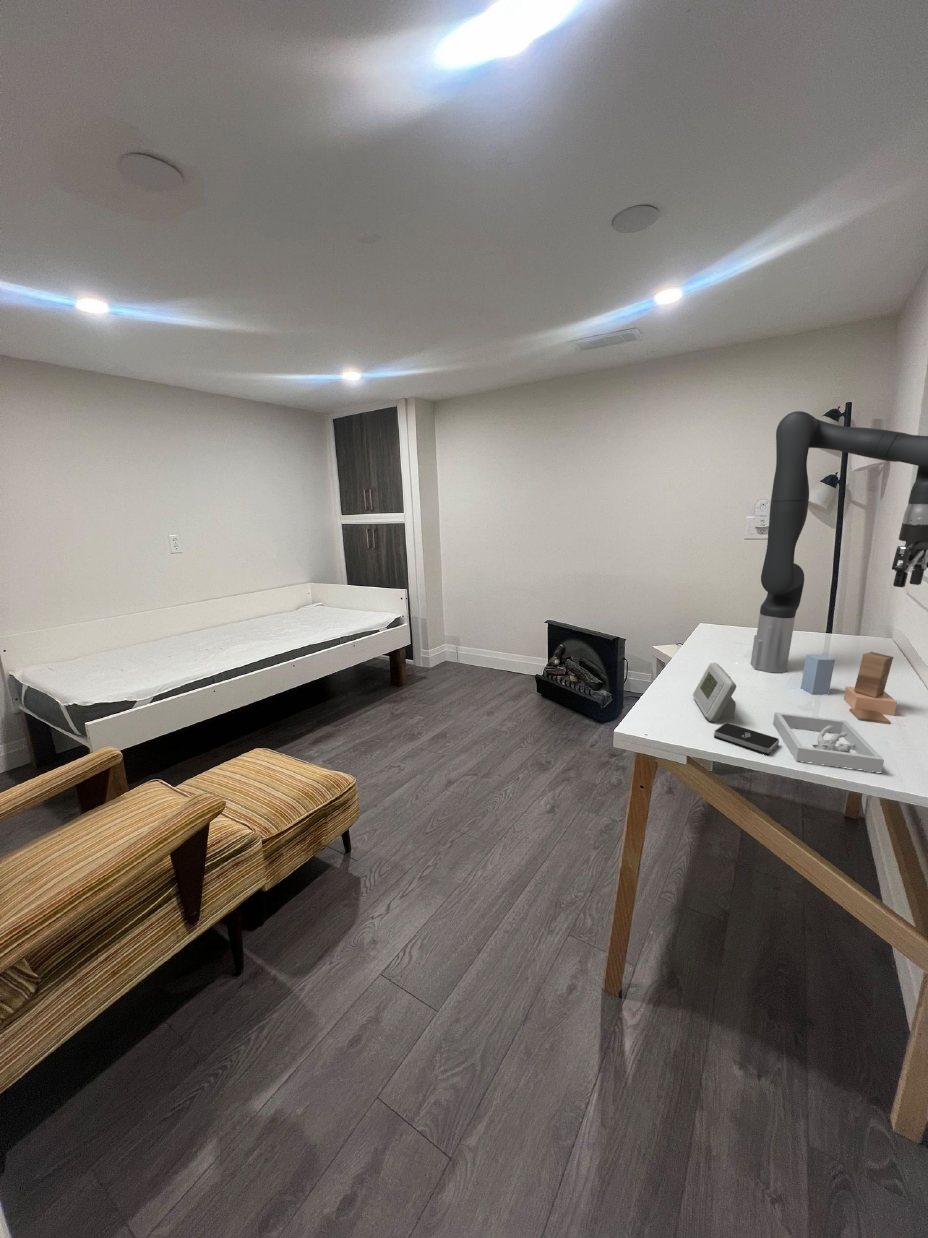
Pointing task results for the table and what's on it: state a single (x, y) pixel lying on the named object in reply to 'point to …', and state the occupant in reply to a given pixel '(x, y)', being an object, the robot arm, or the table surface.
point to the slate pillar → (817, 674)
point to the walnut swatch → (869, 716)
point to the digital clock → (716, 694)
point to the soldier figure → (832, 741)
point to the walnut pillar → (873, 674)
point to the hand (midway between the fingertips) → (906, 585)
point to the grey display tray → (862, 760)
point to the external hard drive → (746, 738)
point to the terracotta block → (870, 702)
